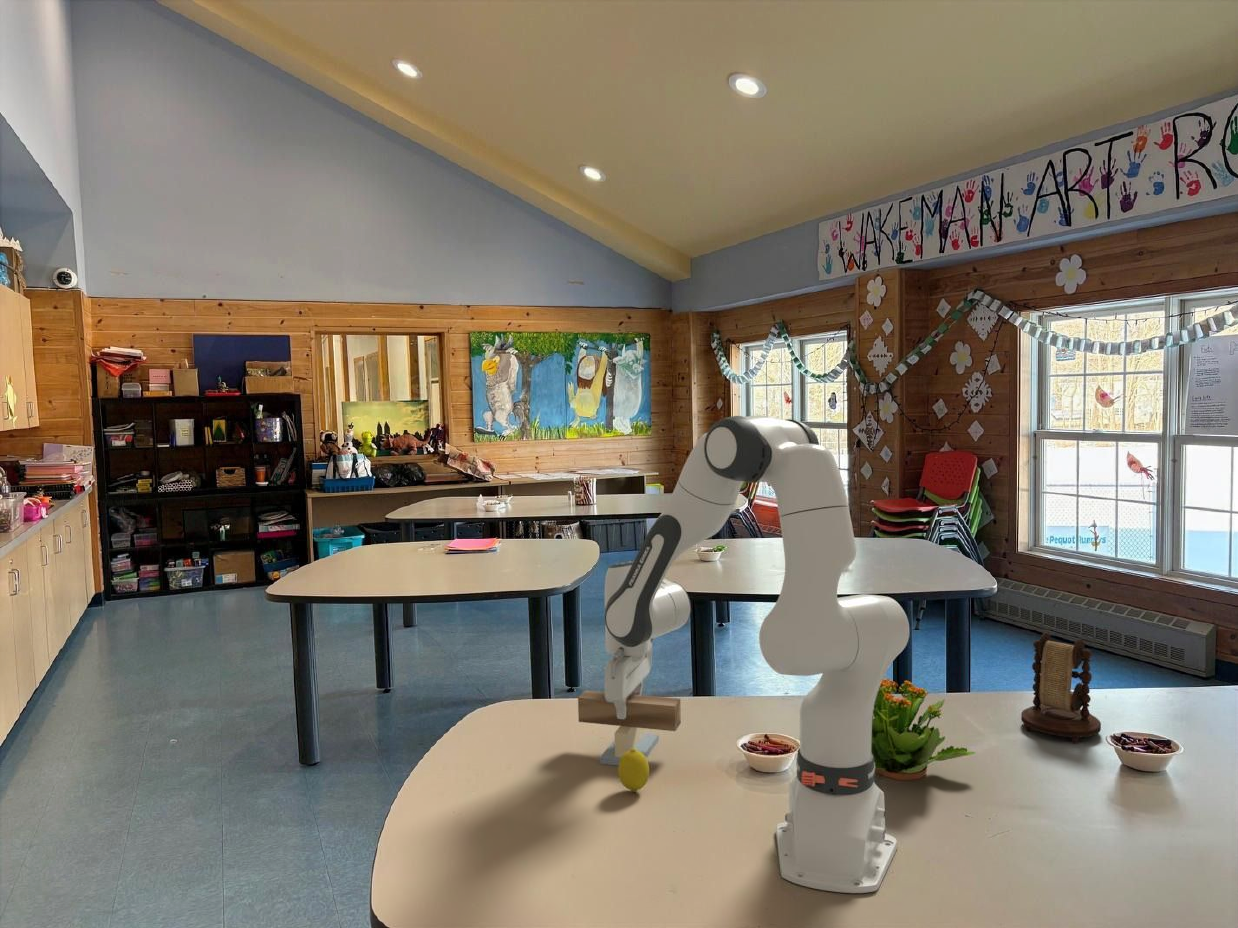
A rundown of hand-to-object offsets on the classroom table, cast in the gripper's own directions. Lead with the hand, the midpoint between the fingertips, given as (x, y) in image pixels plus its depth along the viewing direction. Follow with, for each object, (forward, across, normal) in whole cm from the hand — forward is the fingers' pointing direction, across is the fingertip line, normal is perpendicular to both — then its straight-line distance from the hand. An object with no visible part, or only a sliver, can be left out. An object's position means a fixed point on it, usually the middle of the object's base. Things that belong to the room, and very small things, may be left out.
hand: (629, 709), depth 179 cm
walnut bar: (+3, 0, 0) cm, 3 cm away
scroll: (+9, +33, -83) cm, 90 cm away
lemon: (+9, -17, -6) cm, 20 cm away
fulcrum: (+9, 0, 0) cm, 9 cm away
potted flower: (+9, +4, -52) cm, 53 cm away
